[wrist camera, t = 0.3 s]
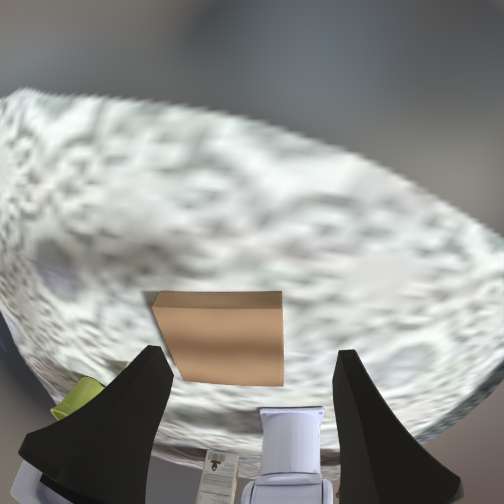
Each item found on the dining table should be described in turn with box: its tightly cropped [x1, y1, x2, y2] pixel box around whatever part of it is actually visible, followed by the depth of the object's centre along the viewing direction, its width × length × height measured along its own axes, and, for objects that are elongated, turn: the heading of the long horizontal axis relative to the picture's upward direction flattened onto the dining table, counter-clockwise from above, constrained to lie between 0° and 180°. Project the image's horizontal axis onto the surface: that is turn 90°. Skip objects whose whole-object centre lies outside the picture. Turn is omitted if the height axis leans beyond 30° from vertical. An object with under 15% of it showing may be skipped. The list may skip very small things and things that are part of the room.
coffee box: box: [195, 450, 239, 504], centre depth 35 cm, size 9×6×16 cm
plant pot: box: [51, 376, 105, 420], centre depth 30 cm, size 9×9×9 cm
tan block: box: [152, 291, 284, 386], centre depth 23 cm, size 10×10×2 cm
